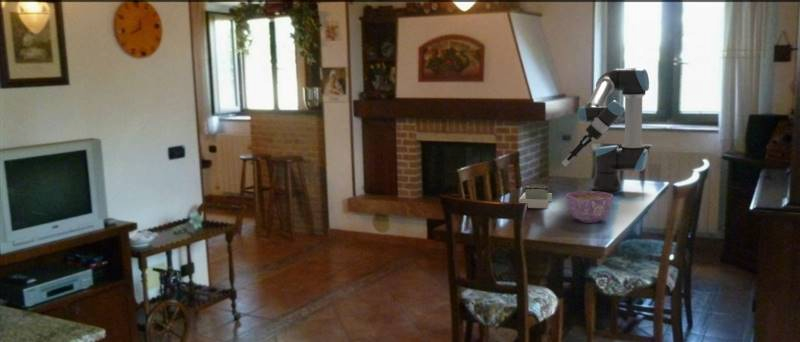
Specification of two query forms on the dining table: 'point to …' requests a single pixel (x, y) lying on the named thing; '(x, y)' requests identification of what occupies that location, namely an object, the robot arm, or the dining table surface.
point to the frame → (536, 201)
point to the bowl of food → (589, 205)
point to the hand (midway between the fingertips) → (563, 164)
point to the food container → (536, 191)
